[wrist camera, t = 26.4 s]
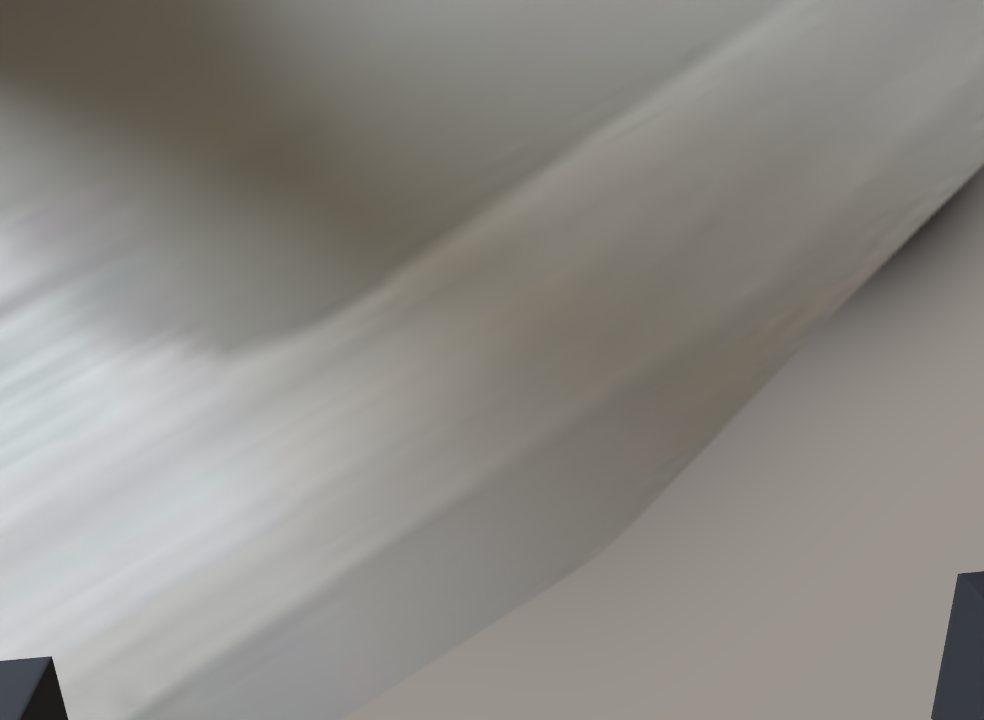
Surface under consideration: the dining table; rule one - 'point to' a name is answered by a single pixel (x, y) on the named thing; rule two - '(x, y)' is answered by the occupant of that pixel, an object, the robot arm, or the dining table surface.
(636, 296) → the dining table surface
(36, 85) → the dining table surface
